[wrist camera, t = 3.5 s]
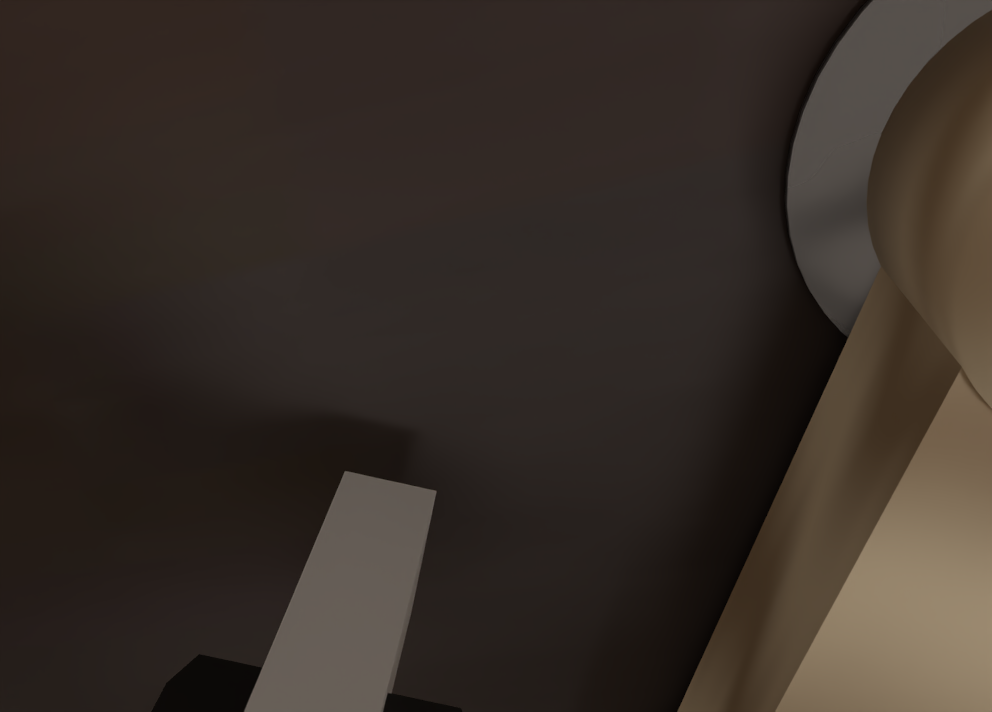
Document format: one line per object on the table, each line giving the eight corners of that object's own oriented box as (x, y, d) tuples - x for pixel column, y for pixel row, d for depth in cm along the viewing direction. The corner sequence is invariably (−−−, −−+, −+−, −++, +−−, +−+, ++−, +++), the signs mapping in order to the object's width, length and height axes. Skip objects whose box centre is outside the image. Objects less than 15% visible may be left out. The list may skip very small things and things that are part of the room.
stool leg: (968, -73, 10) (1157, -60, 7) (1373, 19, 10) (1757, 77, 7) (565, 882, 20) (560, 1079, 17) (771, 926, 20) (808, 1131, 17)
